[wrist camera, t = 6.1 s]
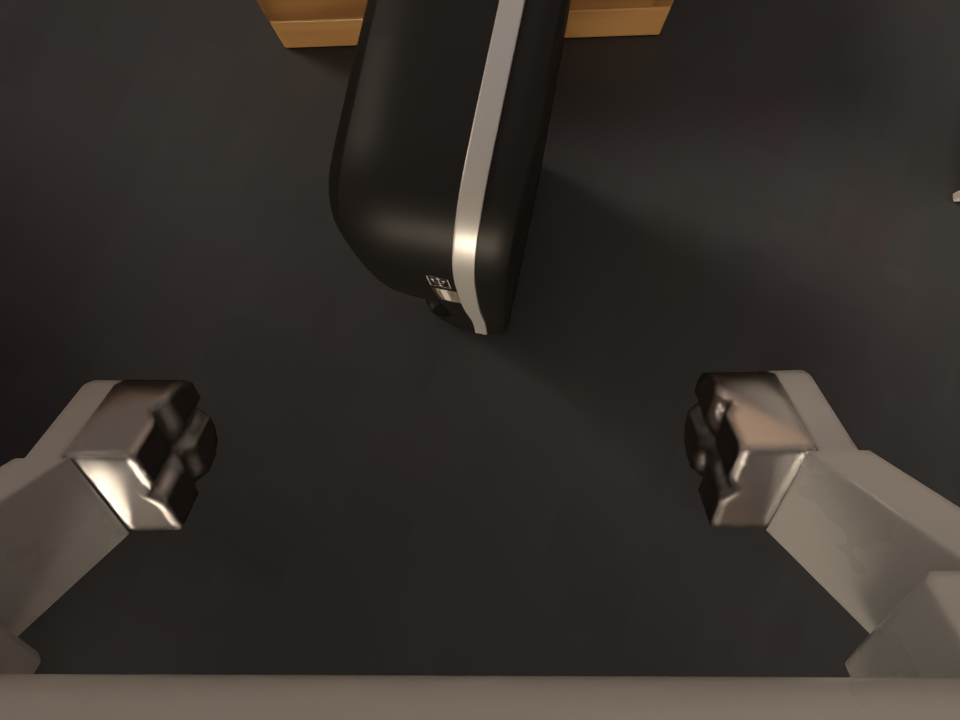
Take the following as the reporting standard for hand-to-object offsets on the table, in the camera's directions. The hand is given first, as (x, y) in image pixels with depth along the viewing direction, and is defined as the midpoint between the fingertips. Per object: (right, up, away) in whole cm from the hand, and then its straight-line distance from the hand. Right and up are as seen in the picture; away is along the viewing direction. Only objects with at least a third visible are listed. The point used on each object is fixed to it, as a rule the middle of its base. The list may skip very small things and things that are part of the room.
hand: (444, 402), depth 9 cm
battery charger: (0, +5, +12) cm, 13 cm away
